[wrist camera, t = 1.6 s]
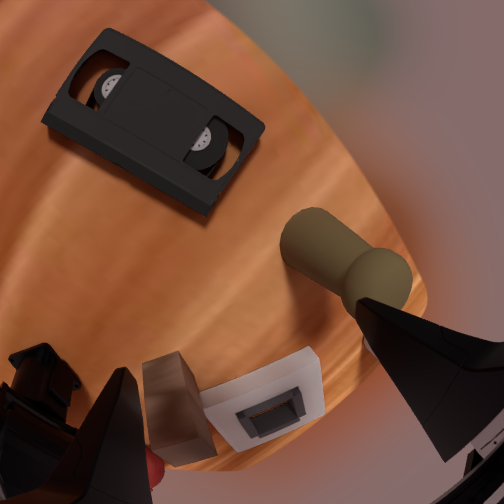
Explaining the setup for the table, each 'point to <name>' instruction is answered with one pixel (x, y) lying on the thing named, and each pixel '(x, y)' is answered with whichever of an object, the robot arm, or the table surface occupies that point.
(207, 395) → the collar block
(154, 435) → the walnut peg
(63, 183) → the table surface
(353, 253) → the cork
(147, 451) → the onion
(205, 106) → the vhs tape
